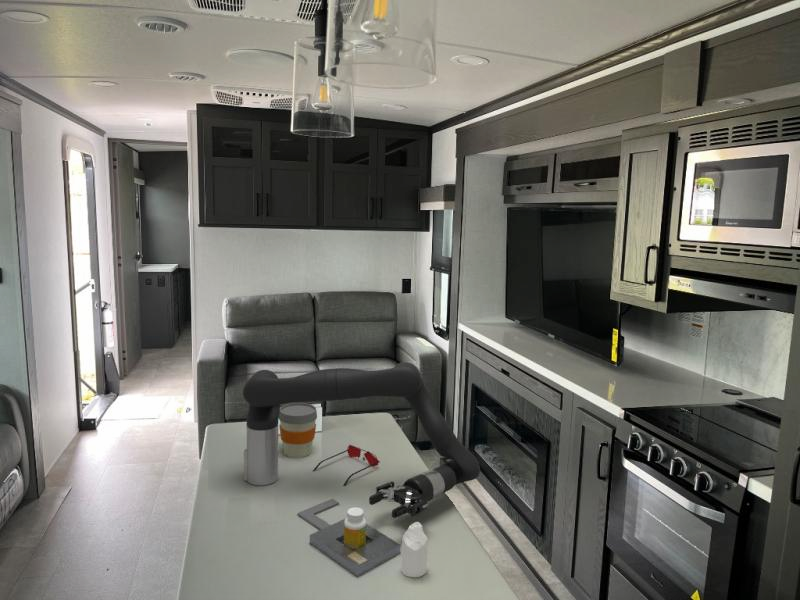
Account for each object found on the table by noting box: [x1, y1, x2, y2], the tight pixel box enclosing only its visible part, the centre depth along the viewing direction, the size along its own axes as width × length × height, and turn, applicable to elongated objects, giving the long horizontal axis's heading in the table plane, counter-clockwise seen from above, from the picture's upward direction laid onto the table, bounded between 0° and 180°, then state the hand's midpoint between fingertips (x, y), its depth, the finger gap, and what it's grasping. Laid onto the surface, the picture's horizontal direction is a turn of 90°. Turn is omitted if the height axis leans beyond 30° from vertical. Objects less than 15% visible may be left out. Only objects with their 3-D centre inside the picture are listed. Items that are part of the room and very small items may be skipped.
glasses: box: [312, 444, 381, 487], centre depth 190 cm, size 14×16×5 cm
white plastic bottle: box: [400, 521, 429, 578], centre depth 140 cm, size 6×12×6 cm
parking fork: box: [296, 498, 340, 531], centre depth 162 cm, size 12×14×1 cm
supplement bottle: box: [343, 507, 367, 551], centre depth 149 cm, size 5×5×10 cm
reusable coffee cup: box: [278, 402, 318, 459], centre depth 201 cm, size 13×12×15 cm
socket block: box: [309, 518, 402, 578], centre depth 149 cm, size 18×14×2 cm
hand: (381, 507), depth 154 cm, fingers open, 8 cm apart
